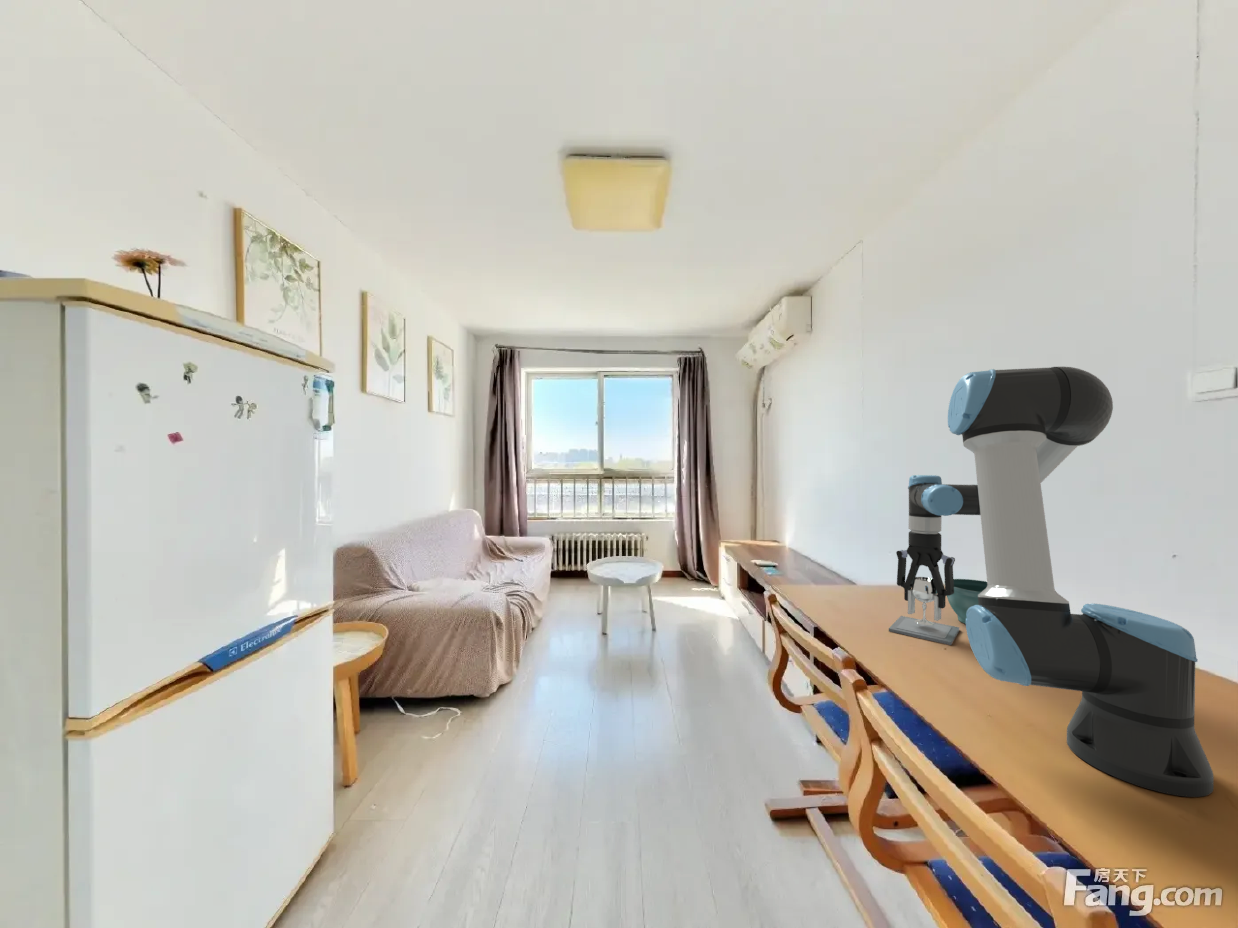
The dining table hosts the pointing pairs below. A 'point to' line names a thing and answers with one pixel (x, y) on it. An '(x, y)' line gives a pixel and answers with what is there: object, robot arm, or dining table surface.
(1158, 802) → the dining table surface
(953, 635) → the coaster
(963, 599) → the flower pot
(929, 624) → the wineglass
